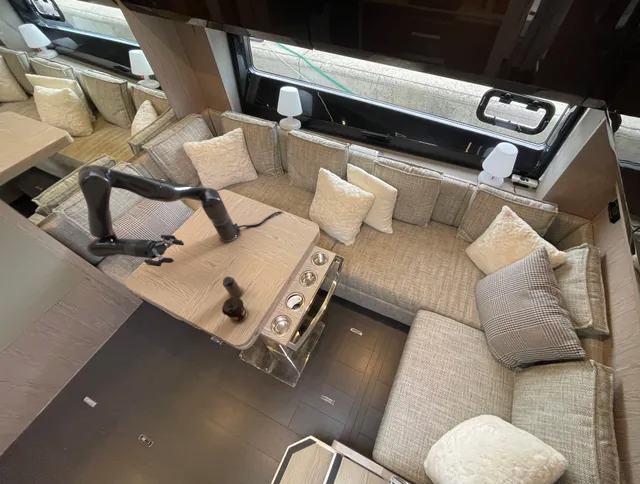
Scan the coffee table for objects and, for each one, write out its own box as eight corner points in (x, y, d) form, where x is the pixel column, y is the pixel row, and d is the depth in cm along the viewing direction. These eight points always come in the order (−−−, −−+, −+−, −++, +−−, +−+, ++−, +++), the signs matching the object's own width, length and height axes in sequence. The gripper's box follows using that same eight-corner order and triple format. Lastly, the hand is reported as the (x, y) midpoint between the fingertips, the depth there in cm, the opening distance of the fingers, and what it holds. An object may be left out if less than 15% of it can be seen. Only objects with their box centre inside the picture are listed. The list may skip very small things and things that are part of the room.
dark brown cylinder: (238, 328, 124) (230, 318, 114) (226, 318, 127) (216, 307, 117) (253, 312, 129) (245, 301, 119) (240, 303, 132) (232, 291, 122)
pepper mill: (235, 287, 137) (226, 273, 126) (244, 290, 136) (235, 277, 125) (228, 296, 134) (218, 283, 123) (237, 299, 133) (228, 287, 122)
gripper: (125, 257, 110) (165, 261, 109) (145, 229, 119) (182, 232, 119) (136, 267, 115) (173, 270, 115) (154, 239, 125) (189, 242, 124)
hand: (178, 251), depth 117 cm, fingers open, 8 cm apart
